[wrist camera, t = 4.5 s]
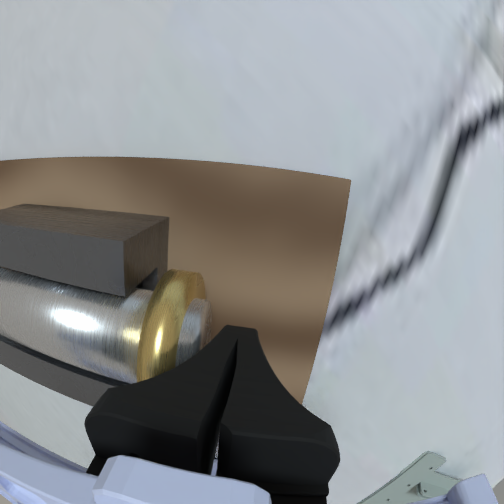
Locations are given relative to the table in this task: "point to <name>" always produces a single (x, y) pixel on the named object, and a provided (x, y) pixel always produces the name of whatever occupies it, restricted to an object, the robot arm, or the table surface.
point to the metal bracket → (414, 483)
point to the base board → (220, 236)
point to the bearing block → (79, 274)
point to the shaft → (108, 323)
